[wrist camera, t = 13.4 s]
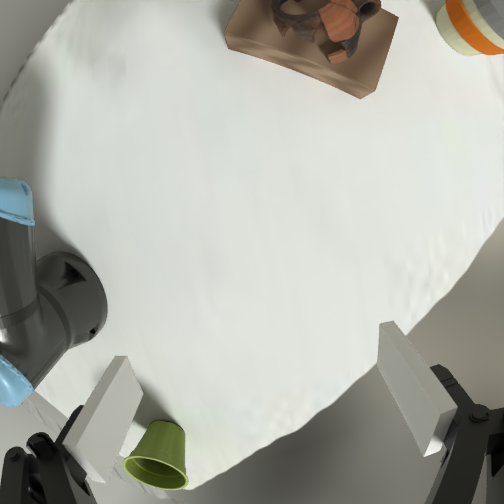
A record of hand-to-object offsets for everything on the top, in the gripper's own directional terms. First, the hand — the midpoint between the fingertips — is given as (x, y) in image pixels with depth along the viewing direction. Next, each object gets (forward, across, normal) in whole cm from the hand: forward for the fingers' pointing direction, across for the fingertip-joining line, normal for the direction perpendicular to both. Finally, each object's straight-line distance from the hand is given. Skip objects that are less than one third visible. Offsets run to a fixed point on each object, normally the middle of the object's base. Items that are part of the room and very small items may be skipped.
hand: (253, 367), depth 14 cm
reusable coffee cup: (+26, +37, +29) cm, 54 cm away
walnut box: (+26, +12, +26) cm, 39 cm away
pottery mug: (+21, +12, +25) cm, 35 cm away
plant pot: (+26, -22, -35) cm, 49 cm away
